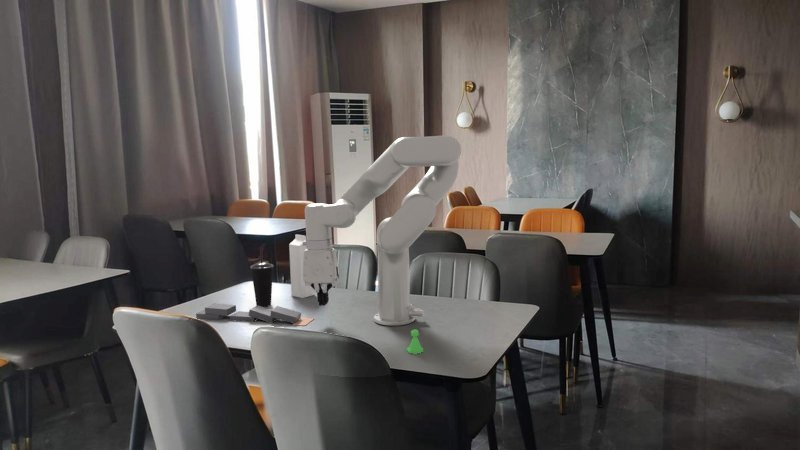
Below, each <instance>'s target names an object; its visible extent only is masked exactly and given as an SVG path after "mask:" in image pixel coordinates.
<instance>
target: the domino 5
mask: <svg viewBox="0 0 800 450" xmlns="http://www.w3.org/2000/svg"><path fill="white" fill-rule="evenodd" d="M271 310H272V311H271V315H270V317H272V318H276V319H277V320H281V321H284V322H288V323H291V324H295V323H296V322H297V321H298V320H300V319H301V318H302V312H301V311H297V310H294V309H290V308H286V307H282V306H279V305H277V306H276V307H274V308H273V309H271Z"/></svg>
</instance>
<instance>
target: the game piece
mask: <svg viewBox="0 0 800 450" xmlns="http://www.w3.org/2000/svg"><path fill="white" fill-rule="evenodd" d="M410 334H411V338H412V339H411V342H410V344H409V346H408V347H406V352H407V351H408V352H409V353H414V354H413V355H418V354H417V353H420V354H422V353H423V352H424V347H422V345H421V343H420V340H419V338H418V336H420V333H419V330H418V329H417V328H416V329H415V328H414V329H412V330H410ZM408 352H407V353H408ZM421 352H422V353H421ZM409 353H408V354H409Z"/></svg>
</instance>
